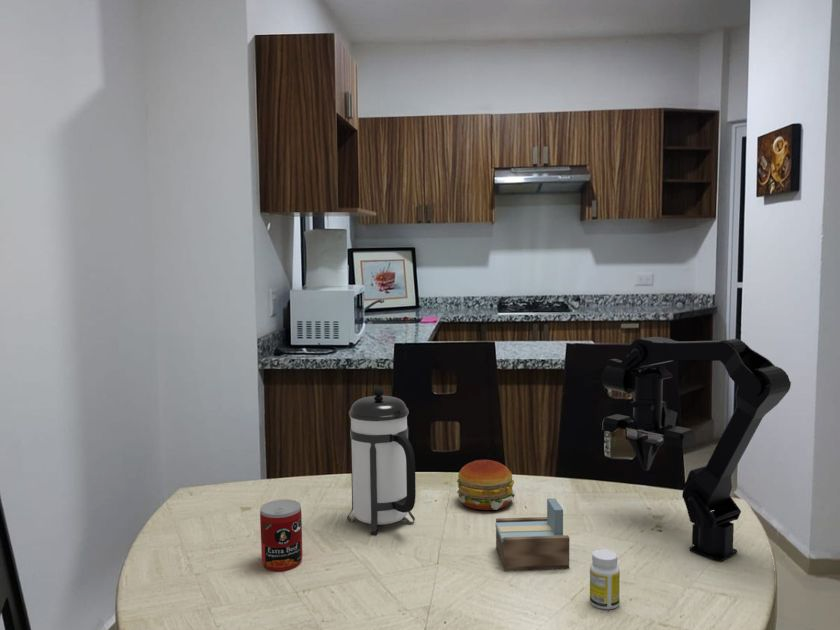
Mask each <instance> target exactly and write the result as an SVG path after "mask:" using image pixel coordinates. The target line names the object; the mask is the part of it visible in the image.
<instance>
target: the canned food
mask: <svg viewBox="0 0 840 630" xmlns="http://www.w3.org/2000/svg"><path fill="white" fill-rule="evenodd" d="M259 509H260V510H259V515H260V516H259V522H260V523H259V524H260V527H259V528H260V543H261V544H260V545H261V546H260V549H261V562H262V565H263V567H264V568H265V569H266V570H268V571H272V572H283V571H284V572H286V571H289V570H293V569H294V568H297V567H298V566H299V565H300V564H301V563H302V560H303V555H304V554H303V529H302V528H303V527H302V526H303V523H302V522H303V521H302V504H301V502H299V501H297V500H294V499H287V498H285V499H283V498H282V499H274V500H271V501H268V502H266V503H264V504H262V505H261V506H260V508H259Z"/></svg>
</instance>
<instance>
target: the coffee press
mask: <svg viewBox="0 0 840 630" xmlns="http://www.w3.org/2000/svg"><path fill="white" fill-rule="evenodd" d="M372 392H373V394H374V395H371V396H370V395H369V396H365V397H362V398H359V399H357V400H356V401H354V403H353V404H352V405H351V408H350V410H349V411H348V415H349V418H350V427H349V430H350V431H349V432H350V433H349V434H350V435H349V436H350V463H351V465H350V466H351V467H350V469H351V511H350V512H349V514H348V515H347V518H346V520H347V521H348V522H350V523H351V522H353V521H355V520H356V519H357V520H358V521H360V522H362V523H365V524H367V525H368V524H369V525H370V529H369V533H370V535H373V536H377V535H378V534H379V527H380V526H381V525H389V524H393V523H397V522H399V521H401V520H403V521H405V522H406V523H407V524H408V525H413V524H414V523H415V521H416V518H415V516H414V515H413V513H412V510H413V509H414V507H415V504H416V460H415V453H414V448H413V445H412V443H411V441H410V440H409V426H408V415H409V414H410V413H409V408H408V407H407V406H406V403H405V402H404V401H403V400H402V399H401V398H398V397H395V396H391V395H390V396H389V395H384V392H385V390H384V388H383V386H382V387H381V386H375V387H374V388H373V390H372ZM352 512H353V515H354V517H353V518H351V517H350V515H351V514H352ZM407 515H409V517H410V518H411V519H412V521H410V520H409V519H408V518H407V517H406V516H407Z"/></svg>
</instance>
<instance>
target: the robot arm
mask: <svg viewBox="0 0 840 630" xmlns="http://www.w3.org/2000/svg"><path fill="white" fill-rule="evenodd" d="M674 361H676V362H677V361H678V362H680V361H682V362H683V361H685V362H686V361H694V362H695V361H696V362H697V361H699V362H700V361H701V362H702V361H706V362H709V361H710V362H711V361H712V362H713V361H714V362H715V361H719V362H721V363H722V364H723V365H724V367H725V370H726V372H727V374H728V376H729V377H730V379H731V380H732V381H733V382H734V383H735V385H737V387H736V388H737V389H736V391H735V402H736V406H735V409H734V411H733V413H732V415H731V417H730V418H729V421H728V423H727V425H726V427H725V428H724V431H723V432H722V435H721V437H720V438H719V440H718V442H717V443H716V446H715V448H714V450H713V452H712V454H711V455H710V458H709V460H708V462H707V464H706V465H704V466H701V467H697V468H695V469H692V470H690V471H689V472H688V475H687V479H686V481H685V482H684V483H683V484H682V485H681V488H683V490H682V495H681V497H682V499H683V501H684V505H685V506H686V512H687V515H688V518H689V521H690V523H692V531H691V532H692V534H691V536H692V537H691V539H692V540H691V544H692V546H690V547H689V551H690V552H693V553H695V554H698V555H701V556H704V557H706V558H710V559H713V560H714V561H717V562H722V561H724V560H726V559H728V558H730V557H732V556H734V555H736V554H737V553H738V549H736V548H734V533H735V532H734V531H735V530H734V529H735V527H734V522H733V521H737V520H739V518H740V515H741V513H742V511H741V509H740V507H739V506H738V505H737V503H736V502H735V500H734V499H733V498H732V496H731V493H732V489H733V485H732V484H733V482H732V475H733V474H734V473H735V470H736V468H737V467H738V464H739V463H740V461H741V459H742V457H743V455H744V453H745V452H746V449H747V447H748V446H749V445H750V442H751V440H752V438H753V437H754V435H755V433H756V431H757V430H758V427H759V426H760V423H762V420H763V418H764V417H765V416H766V415H767V414H768V413H769V412H770V411H772V410H773V409H774V408H775V407H776V406H777V405H779V404H780V403H781V402H782V400H783V399H784V397H785V396H786V395H787V394H788V393H789V392H790V390H791V385H792V381H791V380H790V378H789V375H788V374H787V372H786V371H785V370H784V369H783V368H782V367H779V366H777V365H775V364H773V362H772V361H771V360H769V359H768V358H767V357H766V356H765V355H764V356H763V355H762V354H760V353H758V352H757V351H756V350H754V349H752V348H751V347H750V346H749V345H747V344H746V342H744V341H743V340H741V339H738V338H733V339H732V338H731V339H725V340H723V339H721V340H696V341H695V340H694V341H692V340H691V341H689V340H688V341H678V340H674V339H672V338H667V337H661V336H650V337H643V338H642V337H641V338H636V339H634V340H633V341H632V343H631V344H630V346H629V350H628V352H627V353H626V354H625V355H624V357H623V359H622V360H621V359H617V358H612V359H608V365H606V366H605V368H604V369H603V371H602V373H601V376H600V378H601V383H602V386H603V387H604V388H605V389H607V390H611V391H617V392H621V393H626V394H632V393H633V401H630V402H629V407H630V408H632V409H633V411H632V412H633V413H632V417H631V416H628V415H623V414H619V413H616V414H613V415H610V416H605V417H604V418H603V420H602V422H601V423H602V424H601V430H602V431H603V432H609V433H611V434H612V433H613V434H614V433H615V432H616V431H618V429H622V430H626V436H624V439H625V440H627V441H628V442H629V444H630V445H631V447H632V449H633V451H634V453H635V455H636V457H637V459H638V461H639V463H640V465H641V468H642V469H643V470H644V471H649V470H650V469H651V466H652V464H653V461H654V459H655V457H656V455H657V452H658V450H659V448H660V447H661V446H662V444H665V445H666V446H671V447H675V448H685V447H688V446H691V445H693V444H696V434H695V431H694V430H693V429H692V428H689V427H684V426H683V427H682V426H678V425H676V421H677V417H678V412H676V411H674V410H671V409H670V408H669V409H668V408H667V403H666V401H663V387H664V386H663V382H664V381H663V380H666V379H671V378H673V374H672V373H671V372H670V371H669V370H668V369H667V368H666V366H665V365H662V366H657V367H655V368H652V367H651V366H655V365H660V364H665V363H669V362H674ZM640 368H643V369H640ZM668 426H669V427H671V428H664V427H668Z"/></svg>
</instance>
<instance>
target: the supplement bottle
mask: <svg viewBox="0 0 840 630" xmlns="http://www.w3.org/2000/svg"><path fill="white" fill-rule="evenodd" d="M591 554H592V556H591V561H592V562H591V564H590V565H589V601H590V603H591V604H592V605H593V606H594V607H596V608H598V609H601V610H613V609H616V608H618V607H619V605H620V588H621V587H620V578H621V577H620V575H621V574H620V572H621V571H620V567H619V565H618V555H617V553H616V552H614V551H613V550H610V549H603V548H600V549H596V550H594V551H592V553H591Z"/></svg>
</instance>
